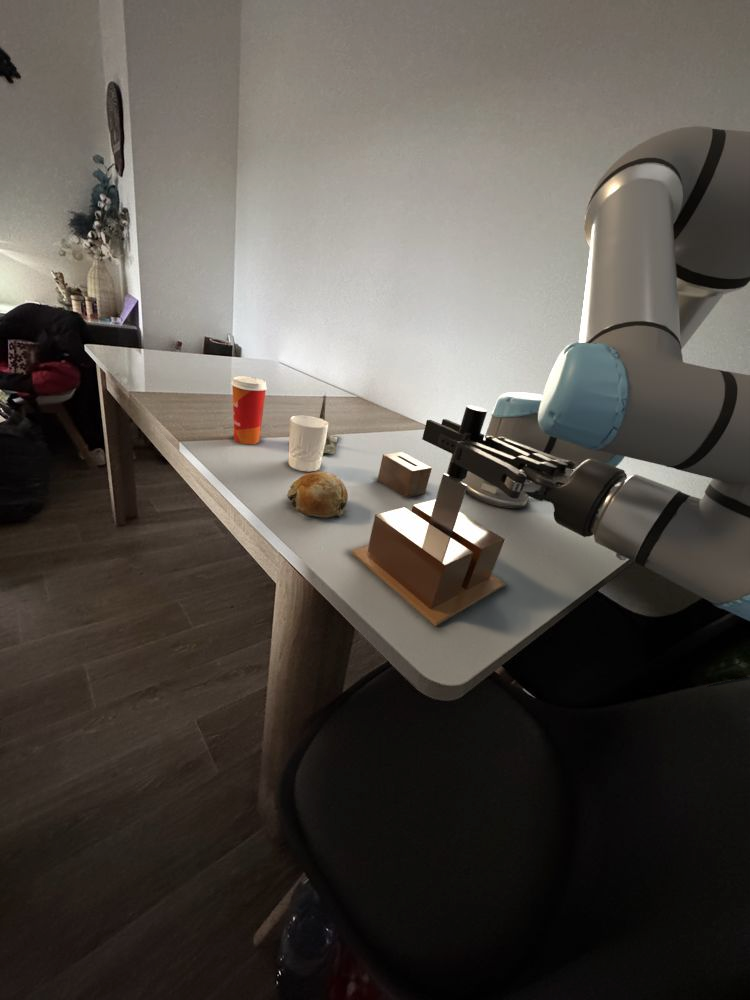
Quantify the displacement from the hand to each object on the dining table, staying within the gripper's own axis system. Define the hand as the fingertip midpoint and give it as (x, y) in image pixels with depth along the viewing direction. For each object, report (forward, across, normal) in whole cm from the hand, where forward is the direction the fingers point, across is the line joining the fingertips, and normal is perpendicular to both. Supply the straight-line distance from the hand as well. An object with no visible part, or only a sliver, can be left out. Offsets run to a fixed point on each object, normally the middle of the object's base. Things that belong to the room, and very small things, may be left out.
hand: (434, 429), depth 53 cm
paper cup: (+51, -2, -20) cm, 55 cm away
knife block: (+18, +18, -20) cm, 32 cm away
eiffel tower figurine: (+46, +14, -20) cm, 52 cm away
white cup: (+34, +3, -20) cm, 40 cm away
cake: (-5, 0, -20) cm, 21 cm away
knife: (-5, 0, -14) cm, 15 cm away
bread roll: (+18, -5, -20) cm, 27 cm away
